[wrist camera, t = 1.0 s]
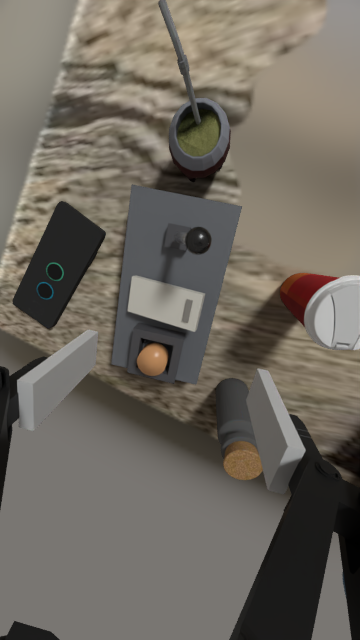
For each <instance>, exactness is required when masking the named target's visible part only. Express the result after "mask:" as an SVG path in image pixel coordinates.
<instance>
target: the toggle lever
mask: <svg viewBox="0 0 360 640" xmlns="http://www.w3.org/2000/svg"><path fill="white" fill-rule="evenodd" d="M174 239H175V241H176V242H178V243H181V244H185V245H186V248H187V250H188V251H189V252H190V253H192V254H195V255H201V254H204V253H206V252H207V251H208V250H209V248H210V246H211V243H212V238H211V235H210V233H209V231H208V230H207V229H205V228H203V227H194V228H192V229H190V230H189V231H188V233H184V232H178V233H176V234H175V236H174Z"/></svg>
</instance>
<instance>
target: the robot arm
mask: <svg viewBox="0 0 360 640" xmlns="http://www.w3.org/2000/svg"><path fill="white" fill-rule="evenodd" d="M97 340H98V332H96V331H92V330H87V331H85V332H84V333H83V334H81V335H80V336H78V337H77V338H76V339H74V340H73V341H71V342H70V343H69V344H67V345H66V346H64V347H63V348H62V349H60V350H59V351H57V352H56V353H55V354H53V355H52V356H50V357H49V358H47V357H41V358H38V359H35V360H33V361H32V362H30V363H29V364H27V366H24V367H23V368H22V369H20V370H18V371H17V372H15V373H14V374H12V375H11V376H9V370H8V369H6V368H5V367H1V366H0V508H1V502H2V495H3V488H4V481H5V475H6V468H7V462H8V454H9V448H10V442H11V435H12V424H13V423H14V422H15V421H16V420H17V419H18V418H19V427H20V428H24V429H28V430H32V431H34V430H35V429H36V428H37V427H38V426H39V425H40V424H41V423H42V422H43V421H44V420H45V419H46V417H47V416H48V415H49V414H50V413H51V412H52V411H53V410H54V409H55V408H56V407H57V406H58V405H59V403H60V402H61V401H62V400H63V399H64V398H65V397H66V396H67V395H68V393H70V392H71V390H73V388H74V387H75V386H76V385H77V384H78V383H79V382H80V381H81V380H82V378H84V377H85V376H86V374H87V373H88V372H89V371H90V370H91V369H92V368H93V367H94V366H95V364H96V352H97ZM246 402H247V406H248V410H249V414H250V418H251V423H252V427H253V431H254V435H255V439H256V443H257V447H258V452H259V456H260V460H261V464H262V468H263V472H264V476H265V481H266V485H267V489H268V490H269V491H273V492H277V493H281V494H285V492H286V490H287V488H288V485H289V488H290V491H291V494H292V495H291V497H290V499H289V501H288V503H287V505H286V507H285V509H284V513H283V516H282V518H281V520H280V522H279V525H278V527H277V529H276V532H275V534H274V536H273V539H272V541H271V543H270V546H269V548H268V551H267V553H266V555H265V557H264V560H263V562H262V564H261V567H260V569H259V572H258V574H257V576H256V579H255V581H254V583H253V586H252V588H251V590H250V593H249V595H248V597H247V600H246V602H245V605H244V607H243V609H242V611H241V614H240V616H239V618H238V621H237V623H236V625H235V628H234V630H233V633H232V635H231V637H230V639H229V640H311V638H312V633H313V628H314V623H315V618H316V613H317V608H318V603H319V598H320V593H321V588H322V583H323V578H324V573H325V568H326V563H327V557H328V553H329V548H330V543H331V538H332V533H333V531H334V532H336V533H338V536H339V543H340V552H341V559H342V567H343V585H344V591H345V595H346V599H347V606H348V614H349V622H350V630H351V637H352V640H360V488H359V487H357V486H355V485H353V484H351V483H349V482H347V481H345V480H343V479H342V477H341V475H340V473H339V472H338V470H337V469H336V468H335V467H334V466H333V465H331V464H330V463H329V462H327V461H325V460H323V459H322V457H321V455H320V453H319V451H318V449H317V447H316V445H315V444H314V442H313V440H312V439H311V436H310V434H309V432H308V430H307V428H306V427H305V425H304V423H303V422H302V421H301V420H300V419H299V418H298V417H297V416H295V415H291V414H288V412H287V410H286V407H285V405H284V403H283V401H282V399H281V397H280V395H279V393H278V391H277V388H276V386H275V384H274V382H273V380H272V378H271V376H270V374H269V371H267V370H263V369H258V368H257V371H256V373H255V376H254V379H253V382H252V385H251V388H250V391H249V394H248V397H247V399H246ZM0 640H59V639H58V638H57V637H56V636H55V635H54V634H53V633H52V632H50V631H47V630H43V629H40V628H36V627H33V626H30V625H26V624H23V623H19V622H16V621H14V623H13V625H12V627H11V629H10V631H9V633H8V635H6V636H1V637H0Z"/></svg>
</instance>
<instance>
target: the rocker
mask: <svg viewBox="0 0 360 640" xmlns="http://www.w3.org/2000/svg"><path fill="white" fill-rule="evenodd" d="M204 297H205V293H201V292H197V291H194V290H190V289H186V288H182V287H178V286H175V285H171V284H167V283H163V282H159V281H156V280H152V279H148V278H144V277H140V276H137V275H136V276H132V280H131V288H130V296H129V303H128V312H132V313H135V314H138V315H141V316H144V317H148V318H151V319H154V320H157V321H161V322H164V323H167V324H170V325H174V326H177V327H180V328H183V329H187V330H190V331H193V332H195V331H196V330H197V327H198V323H199V318H200V314H201V310H202V306H203V302H204Z"/></svg>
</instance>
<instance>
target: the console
mask: <svg viewBox="0 0 360 640" xmlns="http://www.w3.org/2000/svg"><path fill="white" fill-rule="evenodd" d="M241 209H242V206H237V205H232V204H227V203H222V202H217V201H212V200H207V199H202V198H197V197H192V196H187V195H182V194H177V193H172V192H167V191H162V190H157V189H152V188H147V187H142V186H137V185H132V186H131V195H130V204H129V213H128V222H127V231H126V239H125V248H124V257H123V266H122V275H121V283H120V292H119V301H118V310H117V319H116V328H115V336H114V345H113V354H112V363H111V364H112V365H117V366H121V367H125V368H128V370H127V372H128V373H132V374H136V375H140V376H144V377H149V378H153V379H157V380H161V381H165V382H169V383H173V384H174V382H175V380H179V381H183V382H188V383H192V384H197V380H198V376H199V372H200V368H201V364H202V360H203V357H204V353H205V349H206V345H207V341H208V337H209V333H210V329H211V325H212V322H213V318H214V314H215V310H216V306H217V302H218V298H219V294H220V290H221V287H222V283H223V279H224V275H225V271H226V267H227V263H228V259H229V255H230V252H231V248H232V244H233V240H234V236H235V232H236V228H237V224H238V220H239V217H240V213H241ZM194 227H203V228H205V229H207V230H208V231H209V233H210V235H211V238H212V243H211V246H210V248H209V250H208V251H207V252H206V253H204V254H201V255H195V254H192V253H190V252H189V251H188V250H187V248H186V245H185V244H181V243H178V242H176V241H175V239H174V236H175V234H176V233H178V232H184V233H188V231H189V230H190V229H192V228H194ZM136 275H137V276H140V277H144V278H148V279H152V280H156V281H159V282H163V283H167V284H171V285H175V286H178V287H182V288H186V289H190V290H194V291H197V292H201V293H205V297H204V302H203V306H202V310H201V314H200V318H199V323H198V327H197V330H196V331H195V332H193V331H190V330H187V329H183V328H180V327H177V326H174V325H170V324H167V323H164V322H161V321H157V320H154V319H151V318H148V317H144V316H141V315H138V314H135V313H132V312H128V303H129V296H130V288H131V280H132V276H136ZM153 342H155V343H159V344H162V345H163V346H164V347H165V348H166V349H167V351H168V354H169V358H168V361H167V364H166V367H165V370H164V371H163V372H162V373H161V374H159V375H157V376H149V375H146V374H144V373H143V372H142V371H141V370H140V369H139V368H138V365H137V358H138V356H139V354H140V352H141V351H142V349H143V348H144V346H146V345H147V344H149V343H153Z"/></svg>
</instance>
